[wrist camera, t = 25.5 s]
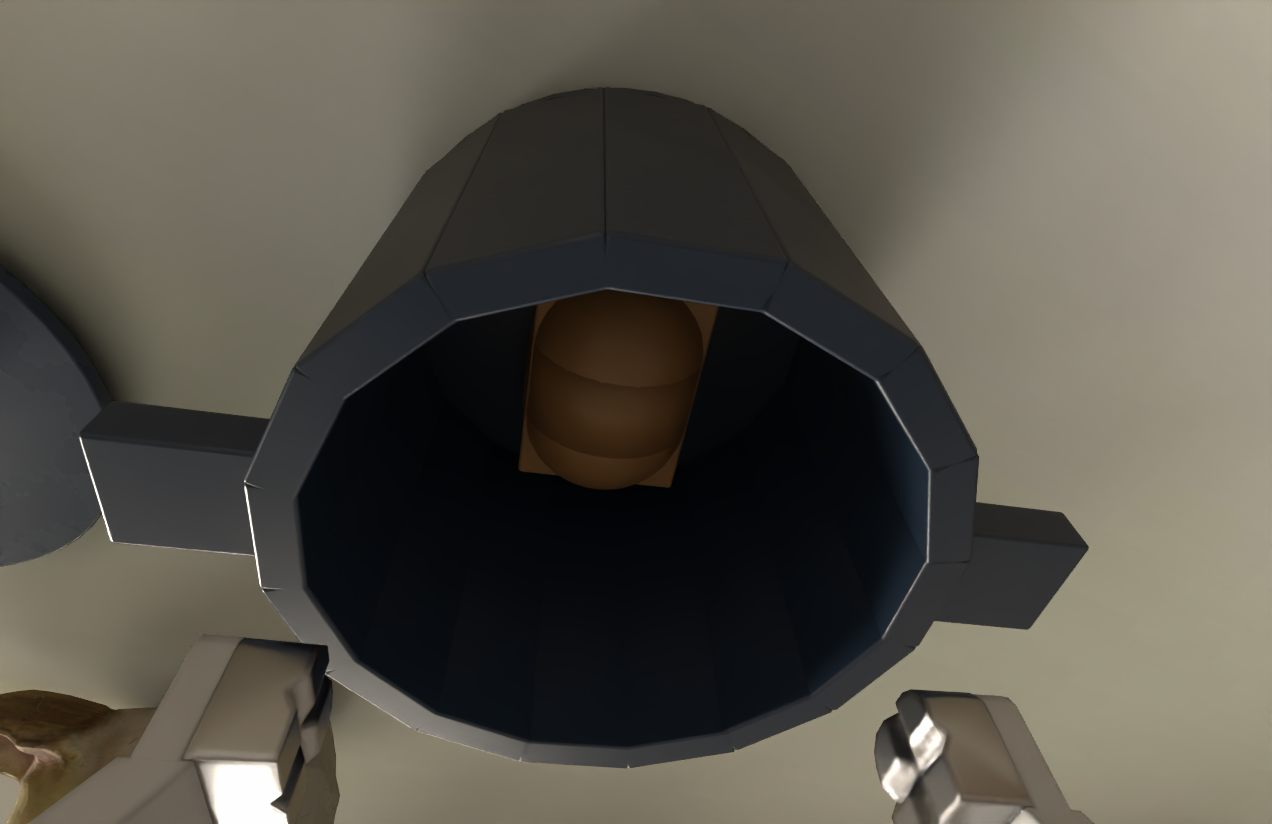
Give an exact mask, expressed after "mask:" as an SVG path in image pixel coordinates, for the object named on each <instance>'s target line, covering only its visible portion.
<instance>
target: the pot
mask: <svg viewBox="0 0 1272 824" xmlns="http://www.w3.org/2000/svg"><path fill="white" fill-rule="evenodd" d="M606 289H609V290H616V291H622V292H629V293H636V294H642V295H649V296H656V297H662V298H669V299H676V300H682V301H689V302H696V303H702V304H709V305H716V306H719V309H718V312H717V316H716V320H715V324H714V327H713V331H712V335H711V339H710V342H709V346H708V350H707V354H706V357H705V361H704V365H703V369H702V372H701V376H700V380H699V383H698V387H697V391H696V395H695V398H694V402H693V406H692V410H691V413H690V417H689V421H688V425H687V428H686V432H685V436H684V440H683V443H682V447H681V451H680V455H679V458H678V462H677V466H676V470H675V473H674V477H673V481H672V484H671V486H670V487H669V488H666V487H657V486H648V485H639V484H634V485H632V486H629V487H625V488H621V489H612V490H601V489H592V488H587V487H583V486H580V485H576V484H574V483H571V482H569V481H567V480H565V479H563V478H562V477H560V476H558V475H549V474H540V473H531V472H522V471H519V469H518V464H519V455H520V446H521V437H522V428H523V403H522V399H523V388H524V379H525V369H526V360H527V351H528V342H529V332H530V324H531V320H532V315H533V311H534V308H535V306H536V304H541V303H546V302H550V301H555V300H560V299H564V298H569V297H574V296H578V295H583V294H587V293H592V292H597V291H601V290H606ZM79 440H80V444H81V447H82V450H83V453H84V457H85V460H86V463H87V466H88V469H89V473H90V476H91V479H92V482H93V486H94V489H95V492H96V495H97V498H98V502H99V505H100V508H101V511H102V514H103V518H104V521H105V524H106V527H107V531H108V534H109V537H110V540H111V541H112V542H114V543H119V544H130V545H140V546H151V547H161V548H172V549H183V550H193V551H204V552H215V553H225V554H236V555H246V556H255V557H256V564H257V570H258V576H259V583H260V586H261V587H262V588H263V589H262V590H263V593H264V594H265V596H266V597H267V598H268V600H269V601H270V602H271V604H272V605H273V606H274V608H275V609H276V610H277V612H278V613H279V614H280V616H281V617H282V618H283V619H284V621H285V622H286V623H287V625H288V626H289V627H290V629H291V630H292V631H293V633H294V634H295V635H296V637H297V638H298V639H299V641H300V642H301V643H308V644H319V645H327V646H328V653H329V659H330V661H329V664H328V667H327V670H326V673H325V674H326V675H327V676H329V677H330V678H332V679H333V680H335V681H336V682H338V683H340V684H341V685H343V686H344V687H346V688H348V689H349V690H351V691H352V692H354V693H356V694H357V695H359V696H360V697H362V698H364V699H365V700H367V701H368V702H370V703H372V704H373V705H375V706H376V707H378V708H379V709H381V710H383V711H384V712H386V713H387V714H389V715H391V716H392V717H394V718H395V719H397V720H399V721H400V722H402V723H403V724H405V725H407V726H408V727H410V728H411V729H416V731H418V732H421V733H424V734H428V735H431V736H434V737H438V738H441V739H444V740H448V741H451V742H455V743H458V744H461V745H465V746H468V747H471V748H475V749H478V750H481V751H485V752H488V753H491V754H495V755H498V756H502V757H505V758H508V759H512V760H515V761H520V762H531V763H548V764H564V765H580V766H597V767H613V768H627V767H629V768H633V767H640V766H646V765H652V764H659V763H665V762H672V761H678V760H685V759H691V758H698V757H704V756H710V755H717V754H723V753H730V752H734V750H739V749H741V748H744V747H746V746H749V745H751V744H754V743H756V742H759V741H761V740H764V739H766V738H769V737H771V736H774V735H776V734H778V733H781V732H783V731H786V730H788V729H791V728H793V727H796V726H798V725H801V724H803V723H806V722H808V721H811V720H813V719H816V718H818V717H821V716H823V715H826V714H828V713H831V712H832V710H836V709H838V708H839V707H841V706H842V705H843V704H844V703H846V702H847V701H848V700H850V699H851V698H852V697H854V696H855V695H856V694H857V693H859V692H860V691H861V690H863V689H864V688H865V687H867V686H868V685H869V684H870V683H872V682H873V681H874V680H876V679H877V678H878V677H880V676H881V675H882V674H883V673H885V672H886V671H887V670H889V669H890V668H891V667H893V666H894V665H895V664H896V663H898V662H899V661H900V660H902V659H903V658H904V657H906V656H907V655H908V654H909V653H911V652H912V651H913V650H914V649H915V648H916V646H918V645H919V644H920V643H921V641H922V639H923V638H924V636H925V635H926V633H927V631H928V630H929V628H930V627H931V625H932V623H933V622H934V621H941V622H952V623H962V624H973V625H983V626H994V627H1005V628H1015V629H1026V630H1027V629H1029V628H1030V627H1031V626H1032V625H1033V623H1034V622H1035V621H1036V619H1037V618H1038V617H1039V615H1040V614H1041V612H1042V611H1043V610H1044V608H1045V607H1046V606H1047V604H1048V603H1049V602H1050V600H1051V599H1052V598H1053V596H1054V595H1055V594H1056V592H1057V591H1058V590H1059V588H1060V587H1061V585H1062V584H1063V583H1064V581H1065V580H1066V579H1067V577H1068V576H1069V575H1070V573H1071V572H1072V571H1073V569H1074V568H1075V567H1076V565H1077V564H1078V563H1079V561H1080V560H1081V558H1082V557H1083V556H1084V554H1085V553H1086V552H1087V550H1088V548H1089V547H1088V545H1087V544H1086V542H1085V541H1084V540H1083V539H1082V537H1081V536H1080V535H1079V533H1078V532H1077V531H1076V529H1075V528H1074V527H1073V525H1072V524H1071V523H1070V522H1069V520H1068V519H1067V518H1066V516H1065V515H1064V514H1063V513H1061V512H1055V511H1046V510H1038V509H1029V508H1021V507H1012V506H1004V505H996V504H987V503H979V502H976V493H977V480H978V466H979V456H978V454H977V448H976V446H975V444H974V442H973V441H972V439H971V437H970V435H969V433H968V431H967V429H966V427H965V425H964V424H963V422H962V420H961V418H960V416H959V414H958V412H957V410H956V409H955V407H954V405H953V403H952V401H951V399H950V397H949V395H948V394H947V392H946V390H945V388H944V386H943V384H942V382H941V380H940V378H939V377H938V375H937V373H936V371H935V369H934V367H933V365H932V363H931V362H930V360H929V358H928V356H927V354H926V352H925V350H924V348H923V347H922V346H921V344H920V343H919V341H918V340H917V339H916V337H915V336H914V335H913V333H912V332H911V331H910V329H909V328H908V327H907V325H906V324H905V322H904V321H903V320H902V318H901V317H900V316H899V314H898V313H897V312H896V310H895V309H894V307H893V306H892V305H891V303H890V302H889V301H888V299H887V298H886V297H885V295H884V294H883V293H882V291H881V290H880V288H879V287H878V286H877V284H876V283H875V282H874V280H873V279H872V278H871V276H870V275H869V273H868V272H867V271H866V269H865V268H864V267H863V265H862V264H861V263H860V261H859V260H858V259H857V257H856V256H855V254H854V253H853V252H852V250H851V249H850V248H849V246H848V245H847V244H846V242H845V241H844V239H843V238H842V237H841V235H840V234H839V233H838V231H837V230H836V229H835V227H834V226H833V225H832V223H831V222H830V220H829V219H828V218H827V216H826V215H825V214H824V212H823V211H822V210H821V208H820V207H819V205H818V204H817V203H816V201H815V200H814V199H813V197H812V196H811V195H810V193H809V192H808V191H807V189H806V188H805V186H804V185H803V184H802V182H801V181H800V180H799V178H798V177H797V176H796V174H795V173H794V171H793V170H792V169H791V167H790V166H789V165H788V164H787V163H786V162H785V161H784V160H783V159H782V158H780V157H779V156H777V155H776V154H775V153H773V152H772V151H770V150H769V149H768V148H767V147H765V146H764V145H763V144H762V143H761V142H759V141H758V140H757V139H756V138H754V137H753V136H752V135H751V134H750V133H748V132H747V131H746V130H745V129H743V128H741V127H740V126H738V125H736V124H735V123H733V122H731V121H730V120H728V119H726V118H725V117H723V116H722V115H720V114H718V113H716V112H715V111H714V110H712V109H711V108H706V107H705V106H704V105H699V104H695V103H693V102H690V101H688V100H684V99H681V98H677V97H673V96H669V95H665V94H662V93H658V92H653V91H644V90H636V89H627V88H609V87H606V88H592V89H582V90H576V91H570V92H564V93H558V94H553V95H550V96H547V97H543V98H540V99H537V100H534V101H531V102H528V103H525V104H522V105H520V106H517V107H515V108H513V109H509V110H505V111H504V112H503V113H499V114H497V115H496V116H495V117H494V118H492V119H491V120H490V121H488V122H487V123H485V124H484V125H482V126H481V127H479V128H478V129H476V130H475V131H474V132H472V133H471V134H469V135H468V136H466V137H465V138H464V139H463V140H462V141H461V142H460V143H458V144H457V145H456V146H455V147H454V148H453V149H452V150H451V151H450V152H449V153H448V154H447V155H446V156H444V157H443V158H442V159H441V160H440V161H438V162H437V163H436V164H435V165H433V166H432V167H431V168H430V169H428V170H427V171H426V173H425V174H424V175H423V176H422V178H421V179H420V181H419V182H418V184H417V185H416V186H415V188H414V189H413V191H412V192H411V194H410V195H409V197H408V198H407V200H406V201H405V203H404V204H403V206H402V207H401V209H400V210H399V212H398V213H397V215H396V216H395V218H394V219H393V220H392V222H391V223H390V225H389V226H388V228H387V229H386V231H385V232H384V234H383V235H382V237H381V238H380V240H379V241H378V243H377V244H376V246H375V247H374V249H373V250H372V252H371V253H370V254H369V256H368V257H367V259H366V260H365V262H364V263H363V265H362V266H361V268H360V269H359V271H358V272H357V274H356V275H355V277H354V278H353V280H352V281H351V283H350V284H349V286H348V287H347V288H346V290H345V291H344V293H343V294H342V296H341V297H340V299H339V300H338V302H337V303H336V305H335V306H334V308H333V309H332V311H331V312H330V314H329V315H328V317H327V318H326V320H325V321H324V322H323V324H322V325H321V327H320V328H319V330H318V331H317V333H316V334H315V336H314V337H313V339H312V340H311V342H310V343H309V345H308V346H307V348H306V349H305V351H304V352H303V354H302V355H301V356H300V358H299V359H298V361H297V362H296V364H295V365H294V367H293V368H292V370H291V373H290V375H289V377H288V379H287V382H286V384H285V386H284V388H283V391H282V393H281V395H280V397H279V400H278V402H277V404H276V407H275V409H274V411H273V413H272V416H271V418H270V419H265V418H257V417H249V416H240V415H232V414H223V413H215V412H206V411H198V410H189V409H181V408H173V407H164V406H156V405H147V404H139V403H130V402H122V401H112V402H109V403H108V404H107V405H106V406H105V407H104V408H103V409H102V410H101V411H100V412H99V413H98V414H97V415H96V416H95V417H94V418H93V419H92V420H91V421H90V422H89V423H88V424H87V425H86V426H85V427H84V428H83V429H82V430H81V431H80V433H79Z"/></svg>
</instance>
